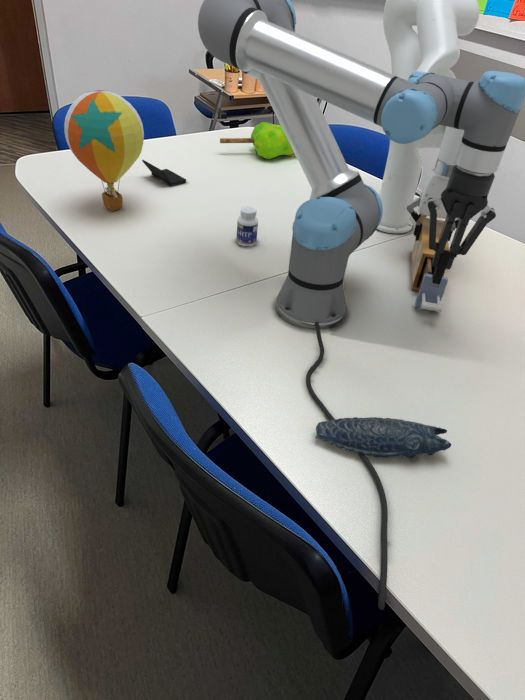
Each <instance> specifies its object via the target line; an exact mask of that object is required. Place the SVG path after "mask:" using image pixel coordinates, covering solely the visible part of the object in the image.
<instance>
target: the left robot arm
mask: <svg viewBox="0 0 525 700" xmlns="http://www.w3.org/2000/svg"><path fill="white" fill-rule="evenodd" d="M197 18H198V19H197V31H198V34H199V38H200V41H201V42H202V44H203V46H204V47H205V49H206V51H207V52H208V53H209V54H210V55H211V56H212V57H214V58H215V59H217V60H219V61H220V62H223V63H224V64H226V65H228V66H230V67H232V68H235V69H238V70H239V71H242V72H244V73H245V72H246V74H247V76H248V77H250V78H252V79H256V80H258V81H259V83H260V86H261V88H262V89H263V92H264V94H265V95H266V97H267V100H268V102H269V103H270V104H269V105H270V106H271V108H272V111H273V112H274V114H275V116H276V118H277V120H278V122H279V125H281V126H282V128H283V130H284V132H285V135H286V137H287V139H288V141H289V143H290V145H291V147H292V149H293V151H294V155H295V157H296V159H297V161H298V164H299V165H300V167H301V169H302V171H303V174H304V175H305V178H306V180H307V182H308V184H309V186H310V188H311V191H310V196H309V199H308V200H306V201H304V202H303V203H301V204H300V205H299V207H298V208H297V210H296V212H295V217H294V219H293V220H294V221H293V222H292V234H291V235H292V236H291V243H290V244H291V245H290V253H289V262H288V263H289V264H288V270H287V271H288V272H287V275H286V278H285V279H284V282H283V283H282V285H281V287H280V290H279V291H278V294H277V296H276V300H275V311H276V313H277V315H278V316H279V317H280V318H281V319H282V320H283V321H284V322H286V323H287V324H289V325H291V326H293V327H296V328H300V329H304V330H310V331H315V332H316V333H315V334H316V340H317V343H318V347H319V355H318V358H317V360H316V361H315V362H314V363H313V364H312V365H311V366H310V368H309V369H308V371H307V373H306V375H305V386H306V389H307V391H308V393H309V395H310V397H311V398H312V400H313V401H314V402H315V404H316V405H317V406H318V408H319V409H320V410H321V412H322V413H323V414H324V416H325V417H326V418H327V420H328V421H330V420H334V419H335V417H334V416H333V415H332V414H331V413H330V411H329V410H328V409H327V407H326V406H325V404H324V403H323V402H322V401H321V399H320V398H319V397H318V395H317V394H316V393H315V391H314V389H313V386H312V381H311V378H312V375H313V373H314V371H315V370H316V369H317V368H318V367H319V366H320V364H321V363H322V362H323V359H324V356H325V347H324V342H323V339H322V333H321V331H324V330H325V331H326V330H329V329H333V328H336V327H337V326H339V325H340V324H342V323H343V322H344V320H345V318H346V315H347V310H348V305H347V297H346V292H345V286H344V280H345V275H346V271H347V267H348V266H347V265H348V261H349V257H350V256H351V254H353V253H354V252H355V251H356V250H357V249H358V248H359V247H360V246H361V245H362V244H363V243H364V242H366V241H367V240H369V238H371V237H372V236H373V235H374V234H375V232H376V230H378V229H377V227H378V226H379V224H380V222H381V219H382V214H383V207H382V202H381V199H380V197H379V193H378V192H377V191H376V189H374V188H373V187H372V186H370V185H368V184H366V183H364V181H363V179H362V177H361V174H360V173H359V172H358V171H356V170H353V169H351V168H349V166H348V164H347V162H346V159H345V158H344V156H343V153H342V152H341V148H340V146H339V145H338V143H337V141H336V138H335V135H334V134H333V132H332V129H331V127H330V125H329V123H328V121H327V119H326V117H325V115H324V112H323V110H322V108H321V106H320V103H319V101H318V99H319V100H321V101H323V102H325V103H327V104H330V105H332V106H334V107H337V108H339V109H342V110H343V111H345V112H348V113H350V114H352V115H354V116H357V117H359V118H361V119H364V120H366V121H368V122H370V123H372V124H374V125H377V126H379V127H381V128H382V131H383V132H384V134H385V136H387V138H388V139H389V140H390V139H391V140H392V141H394V142H396V143H400V144H407V143H411V142H414V141H416V140H419V139H421V138H423V137H425V136H426V135H427V134H429V133H430V131H431V130H432V129H434V128H435V127H437V126H438V125H443V126H448V127H452V128H456V129H462V130H464V134H463V137H462V141H461V144H460V147H459V150H458V153H457V156H456V159H455V164H456V165H455V166H454V167H453V168H452V171H451V175H450V178H449V181H448V184H447V187H446V189H445V190H444V191H443V192H442V194H441V196H439V197H437V198H434V199H433V198H429V199H428V200H427V204H428V209H429V212H430V216H429V218H430V224H429V249H431V250H434V251H435V254H434V257H433V260H432V266H433V267H435V270H434V273H433V276H432V283H435V284H440V282H441V280H442V277H443V274H444V271H445V269H446V270H451V268H452V266H453V264H454V261H455V259H456V258H457V256H459V255H460V256H466V255H467V254H468V253H469V251H470V249H471V248H472V247H473V245H474V244H475V242H476V241H477V239H478V238H479V236H480V235H481V234H482V232H483V231H484V229H485V228H486V226H487V225H488V224H489V223H490V222H492V221H493V220H494V219H495V218H496V217H497V214H496V210H495V208H493V207H490V206H489V202H488V201H489V200H488V196H489V194H490V191H491V188H492V185H493V183H494V180H495V177H496V176H495V173H496V172H498V170H499V167H500V164H501V162H502V159H503V156H504V153H505V150H506V149H507V145H508V143H509V140H510V138H511V135H512V132H513V130H514V127H515V124H516V122H517V120H518V117H519V114H520V112H521V110H522V105H523V102H524V99H525V77H523V76H522V75H519V74H517V73H512V72H507V71H499V70H488V71H485V72H484V73H482V76H481V78H480V79H479V81H469V80H464V79H459V78H457V77H456V78H451V77H447V76H442V75H437V74H435V73H432V72H430V73H426V72H419V71H417V72H414V73H412V74H411V75H410V76H409V78H408V79H407V80H405V79H402V78H399V77H397V76H396V75H393V74H392V72H389V71H386V70H384V69H383V68H382V69H381V68H380V67H377V66H375V65H372V64H370V63H367V62H365V61H363V60H360V59H358V58H356V57H353V56H351V55H349V54H346V53H344V52H341V51H339V50H337V49H334V48H332V47H330V46H327V45H326V44H324V43H323V44H322V43H321V42H319V41H316V40H313V39H311V38H308V37H306V36H304V35H302V34H300V33H297V32H296V25H297V15H296V11H295V7H294V5H293V3H292V1H291V0H203V1H202V4H201V5H200V8H199V11H198V17H197ZM441 203H443V206H444V208H445V211H446V213H447V215H446V219H445V220H444V221H445V222H444V225H443V228H442V231H441V234H440V237H439V240H438V243H437V242H436V226H437V220H438V217H437V210H438V209H439V208H440V204H441ZM479 213H480V215H479V217H478V218H477V219H476V220H475V223H474V225H472V227H471V229H470V230H469V232H468V234H467V235H466V236H465V237H464V235H465V232H466V230H467V226H468V225H469V223H470V221H471V220H470V218H472V219H473V217H475V216H476V215H478V214H479ZM456 218H460V219H459V223H458V225H457V228H456V229H455V230H454V234H453V237H452V240H451V243H450V245H449V251H448V250H444V249H445V246H446V243H447V240H448V237H449V234H450V231H451V228H452V226H453V223H454V221H455V219H456ZM456 220H457V219H456ZM463 237H464V239H463ZM445 272H446V271H445ZM444 275H445V274H444ZM357 455H358V457H359V458H360V459H361V461H362V462H363V463H364V465H365V467H366V468H367V470H368V471H369V473H370V474H371V476H372V478H373V480H374V483H375V485H376V487H377V490H378V494H379V499H380V506H381V523H380V572H379V574H380V575H379V587H378V599H377V607H378V609H379V610H381V611H383V610H384V609H385V607H386V598H387V597H386V596H387V586H388V585H387V584H388V522H389V521H388V520H389V519H388V517H389V516H388V513H389V511H388V501H387V496H386V493H385V489H384V486H383V483H382V481H381V479H380V476H379V474H378V472H377V470H376V469H375V467H374V466H373V464H372V462H371V461H370V459H369V458H368V456H367V455H363V454H362V453H357Z"/></svg>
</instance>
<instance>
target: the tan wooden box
mask: <svg viewBox="0 0 525 700" xmlns="http://www.w3.org/2000/svg"><path fill="white" fill-rule="evenodd" d="M444 222H445V220H441V219H437V226H436V242H437V243H438V240H439V237H440V234H441V231H442V228H443V225H444ZM429 224H430V217H426V218H425V219H424V221H423V222H422V229H421V233H420V236H419V240H418V241H416V240H415V239H414V242H413V246H412V249H411V291H415V292H419V277H420V273H421V270H422V267H423V264H424V260H425V257H430V258H433V257H434V254H435V251H434V250H431V249H429ZM444 250H448V251H449V250H450V245H449V241H448V240H447V243H446V246H445V249H444ZM446 271H447V269H445V271H444V274H443V277H445V274H446Z"/></svg>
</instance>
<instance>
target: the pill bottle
mask: <svg viewBox="0 0 525 700" xmlns="http://www.w3.org/2000/svg"><path fill="white" fill-rule="evenodd" d="M258 229H259V219H258V217H257V209H256V208H255V207H253V206H243V207H241V208H240V215H239V216H238V217H237V223H236V239H235V240H236V242H237V244H238V245H240V246H244V247H252V246H254V245H256V244H257V240H258Z"/></svg>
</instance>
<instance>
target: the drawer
mask: <svg viewBox="0 0 525 700" xmlns="http://www.w3.org/2000/svg"><path fill="white" fill-rule="evenodd" d="M432 260H433V258H430V257H425V260H424V264H423V267H422V270H421V273H420V277H419V291H418V294H417V297H416V300H415V303H414V307H415V308H419V309H422V310H427V311H432V312H433V311H434V312H439V313H441V312H442V310H443V304H441V301H442V299H443V296H444V294H445V290H446V287H447V285H448V281H449V277H448V276H444V277H442V280H441V282H440V284H435V283H432V276H433V273H434V270H435V267H433V266H432Z"/></svg>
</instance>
